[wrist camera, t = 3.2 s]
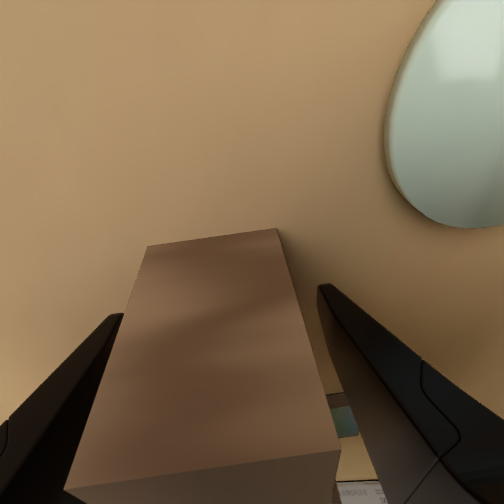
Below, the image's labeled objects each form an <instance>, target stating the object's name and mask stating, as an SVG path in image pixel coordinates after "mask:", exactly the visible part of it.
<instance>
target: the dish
mask: <svg viewBox="0 0 504 504" xmlns="http://www.w3.org/2000/svg"><path fill="white" fill-rule="evenodd" d="M384 152H385V158H386V163H387V167H388V170H389V173H390V176H391V179H392V181H393V182H394V184H395V186H396V188H397V189H398V191H399V192H400V193H401V194H402V195H403V197H404V198H405V199H406V200H407V201H408V202H410V203H411V204H412V205H413V206H414V207H415V208H416V209H418V210H419V211H420V212H421V213H423V214H424V215H425V216H426V217H428V218H430V219H432V220H434V221H436V222H438V223H441V224H444V225H447V226H452V227H458V228H485V227H492V226H497V225H502V224H504V0H436V2H435V3H434V5H433V6H432V8H431V9H430V11H429V12H428V14H427V15H426V17H425V18H424V20H423V21H422V23H421V25H420V26H419V28H418V30H417V32H416V34H415V35H414V37H413V39H412V41H411V43H410V45H409V46H408V48H407V51H406V53H405V55H404V58H403V60H402V62H401V64H400V67H399V69H398V71H397V74H396V77H395V80H394V83H393V87H392V90H391V93H390V97H389V101H388V106H387V110H386V116H385V126H384Z"/></svg>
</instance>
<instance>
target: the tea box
mask: <svg viewBox="0 0 504 504" xmlns="http://www.w3.org/2000/svg"><path fill="white" fill-rule="evenodd" d="M337 486H338V490H339V494H340V498H341V502H342V504H388V502H387V500H386V497H385V494H384V492H383V489H382V487H381V484H380V482H379V481H366V482H343V483H337Z"/></svg>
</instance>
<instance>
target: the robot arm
mask: <svg viewBox="0 0 504 504" xmlns="http://www.w3.org/2000/svg"><path fill="white" fill-rule="evenodd" d="M317 309H318V313H319V317H320V321H321V325H322V328H323V332H324V336H325V340H326V344H327V347H328V351H329V354H330V357H331V360H332V362H333V365H334V367H335V370H336V372H337V375H338V377H339V380H340V382H341V385H342V388H343V390H344V393H345V395H346V398H347V400H348V403H349V405H350V408H351V410H352V413H353V416H354V418H355V421H356V423H357V426H358V428H359V431H360V433H361V436H362V438H363V441H364V444H365V446H366V449H367V451H368V454H369V456H370V459H371V461H372V464H373V466H374V469H375V472H376V474H377V477H378V479H379V482H380V484H381V487H382V489H383V492H384V494H385V497H386V500H387V502H388V504H504V420H503V419H502V418H500V417H499V416H498V415H496V414H495V413H493V412H492V411H491V410H489V409H488V408H486V407H485V406H483V405H482V404H481V403H479V402H478V401H476V400H475V399H474V398H472V397H471V396H469V395H468V394H467V393H465V392H464V391H463V390H461V389H460V388H458V387H457V386H456V385H454V384H453V383H452V382H451V381H449V380H448V379H447V378H446V377H444V376H443V375H442V374H441V373H439V372H438V371H437V370H435V369H434V368H433V367H432V366H431V365H429V364H428V363H427V362H426V361H425V360H422V359H421V357H420V356H418V355H417V354H416V353H415V352H413V351H412V350H411V349H410V348H409V347H407V346H406V345H405V344H404V343H403V342H401V341H400V340H399V339H398V338H397V337H395V336H394V335H393V334H392V333H390V332H389V331H388V330H387V329H386V328H384V327H383V326H382V325H381V324H380V323H378V322H377V321H376V320H375V319H373V318H372V317H371V316H370V315H369V314H367V313H366V312H365V311H364V310H363V309H361V308H360V307H359V306H358V305H357V304H355V303H354V302H353V301H352V300H350V299H349V298H348V297H347V296H346V295H344V294H343V293H342V292H341V291H340V290H338V289H337V288H336V287H335V286H333V285H332V284H330V283H328V284H320V285H318V287H317ZM123 316H124V313H116V314H111V315H109V316H108V317H107V318H106V319H105V320H104V321H103V322H102V323H101V324H100V325H99V326H98V327H97V328H96V329H95V330H94V331H93V332H92V333H91V334H90V335H89V336H88V337H87V338H86V339H85V340H84V341H83V342H82V343H81V344H80V345H79V346H78V347H77V348H76V349H75V350H74V351H73V353H72V354H71V355H70V356H69V357H68V358H67V359H66V360H65V361H64V362H63V363H62V364H61V365H60V366H59V367H58V368H57V369H56V370H55V371H54V372H53V373H52V374H51V375H50V376H49V377H48V378H47V379H46V380H45V381H44V382H43V383H42V384H41V385H40V386H39V387H38V388H37V389H36V390H35V391H34V392H33V393H32V394H31V395H30V396H29V397H28V398H27V399H26V400H25V401H24V402H23V403H22V404H21V405H20V406H19V407H18V408H17V409H16V410H15V411H14V413H13V414H12V415H11V416H10V417H9V420H6V421H5V422H4V423H3V424H2V425H1V426H0V504H87V503H85V502H84V501H82V500H80V499H79V498H77V497H75V496H73V495H72V494H70V493H68V492H67V491H65V490H64V487H65V484H66V481H67V478H68V475H69V472H70V469H71V466H72V464H73V461H74V458H75V455H76V452H77V449H78V446H79V443H80V440H81V438H82V435H83V432H84V429H85V426H86V423H87V420H88V417H89V414H90V412H91V409H92V406H93V403H94V400H95V397H96V394H97V391H98V388H99V386H100V383H101V380H102V377H103V374H104V371H105V368H106V365H107V362H108V360H109V357H110V354H111V351H112V348H113V345H114V342H115V339H116V336H117V334H118V331H119V328H120V325H121V322H122V319H123Z"/></svg>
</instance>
